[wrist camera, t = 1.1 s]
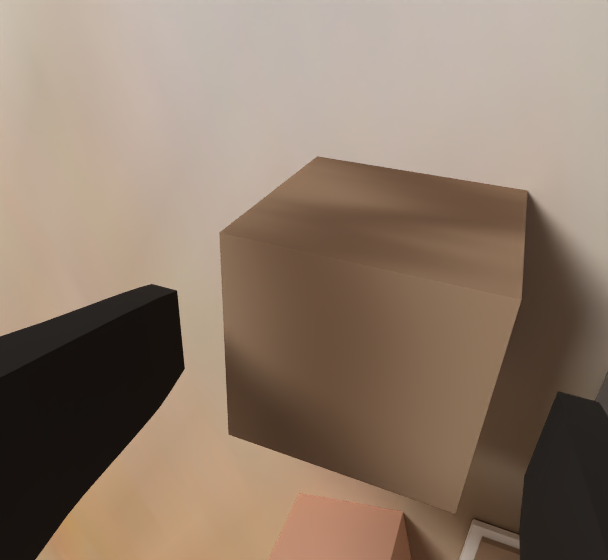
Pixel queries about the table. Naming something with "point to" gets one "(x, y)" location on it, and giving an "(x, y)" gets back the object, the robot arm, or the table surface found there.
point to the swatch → (490, 543)
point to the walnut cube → (372, 321)
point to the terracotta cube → (341, 532)
